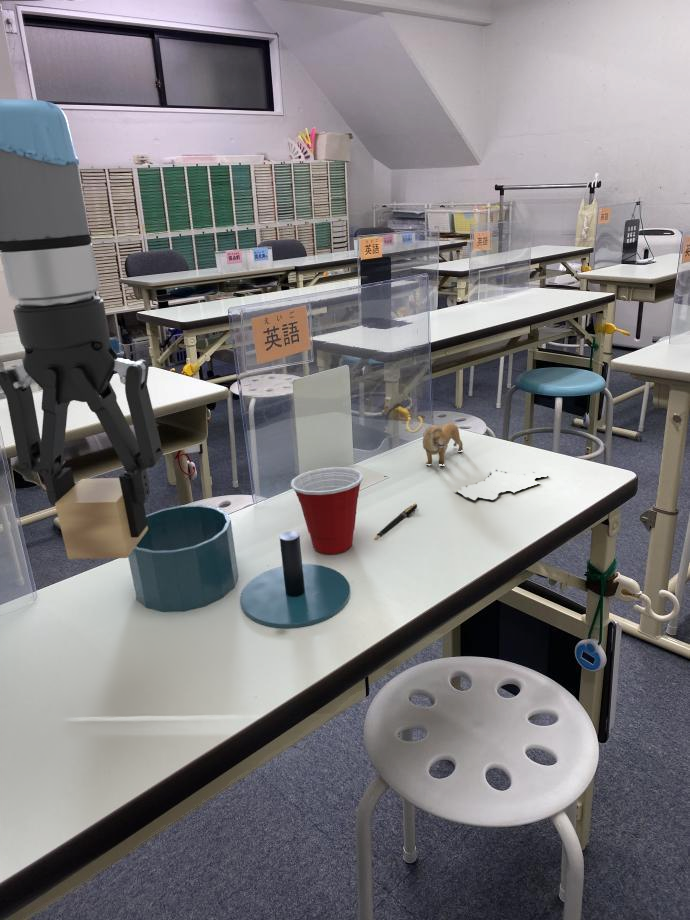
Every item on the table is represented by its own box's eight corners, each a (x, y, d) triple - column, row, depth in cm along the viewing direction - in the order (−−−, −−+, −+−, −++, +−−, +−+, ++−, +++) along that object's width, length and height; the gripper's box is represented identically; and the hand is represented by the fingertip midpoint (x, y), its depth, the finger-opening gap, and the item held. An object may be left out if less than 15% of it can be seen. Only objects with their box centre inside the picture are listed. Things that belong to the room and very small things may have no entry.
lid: (231, 633, 86) (221, 566, 83) (251, 572, 100) (244, 512, 97) (347, 630, 85) (342, 562, 82) (352, 569, 99) (348, 509, 96)
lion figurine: (444, 475, 129) (443, 430, 126) (417, 472, 131) (416, 427, 128) (466, 448, 141) (467, 407, 138) (442, 446, 143) (441, 405, 140)
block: (68, 559, 67) (54, 503, 65) (93, 530, 72) (81, 478, 70) (127, 558, 66) (116, 502, 64) (148, 529, 72) (138, 476, 70)
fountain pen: (376, 545, 105) (376, 536, 105) (370, 543, 106) (369, 534, 106) (420, 508, 116) (420, 500, 116) (414, 507, 117) (413, 499, 117)
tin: (122, 616, 91) (108, 554, 88) (154, 562, 105) (144, 506, 101) (226, 614, 90) (217, 550, 87) (246, 559, 104) (238, 503, 100)
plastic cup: (341, 525, 112) (336, 457, 108) (381, 549, 104) (377, 477, 100) (284, 546, 107) (276, 475, 103) (321, 573, 98) (314, 498, 94)
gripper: (175, 286, 63) (209, 512, 71) (-21, 297, 65) (35, 517, 73) (147, 299, 56) (188, 548, 64) (-71, 310, 58) (-3, 552, 66)
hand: (107, 531), depth 69 cm, fingers closed on block, 6 cm apart
